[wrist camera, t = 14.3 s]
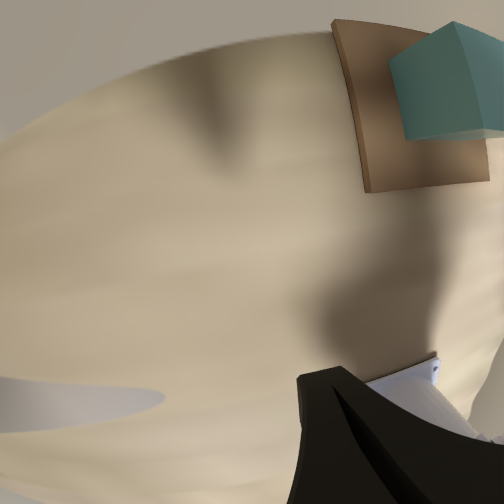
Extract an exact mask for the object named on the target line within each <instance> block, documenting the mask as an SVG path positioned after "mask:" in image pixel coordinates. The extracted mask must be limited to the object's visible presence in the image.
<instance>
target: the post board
mask: <svg viewBox="0 0 504 504" xmlns="http://www.w3.org/2000/svg"><path fill="white" fill-rule="evenodd" d="M331 28H332V31H333V34H334V38H335V41H336V45H337V48H338V52H339V56H340V59H341V63H342V67H343V71H344V75H345V79H346V84H347V88H348V92H349V97H350V101H351V106H352V111H353V116H354V121H355V127H356V132H357V138H358V144H359V150H360V156H361V163H362V170H363V177H364V185H365V193H378V192H386V191H395V190H403V189H412V188H421V187H430V186H440V185H450V184H460V183H471V182H483V181H490V177H489V166H488V157H487V149H486V142H485V139H475V140H464V141H455V140H405V134H404V128H403V123H402V117H401V112H400V108H399V103H398V98H397V94H396V90H395V86H394V82H393V78H392V74H391V70H390V67H389V63H388V60H390V59H392V58H393V57H395V56H396V55H398V54H399V53H401V52H402V51H404V50H405V49H407V48H409V47H410V46H412V45H413V44H415V43H417V42H418V41H420V40H422V39H423V38H425V37H426V36H428V35H430V34H429V33H424V32H421V31H416V30H411V29H406V28H401V27H396V26H390V25H383V24H378V23H370V22H362V21H353V20H340V19H334V21H333V22H332V23H331Z"/></svg>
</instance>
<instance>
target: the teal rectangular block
mask: <svg viewBox="0 0 504 504" xmlns="http://www.w3.org/2000/svg"><path fill="white" fill-rule="evenodd" d="M388 63H389V67H390V70H391V74H392V78H393V82H394V86H395V90H396V94H397V98H398V103H399V108H400V112H401V117H402V123H403V128H404V134H405V140H455V141H464V140H475V139H488V138H503V137H504V42H503V41H500V40H498V39H496V38H494V37H492V36H489V35H487V34H485V33H483V32H480V31H478V30H475V29H473V28H470V27H468V26H465V25H463V24H460V23H457V22H454V21H452V22H450V23H449V24H447V25H445V26H443V27H442V28H440V29H438V30H436V31H435V32H433V33H431V34H430V35H428V36H426V37H425V38H423V39H422V40H420V41H418V42H417V43H415V44H413V45H412V46H410V47H409V48H407V49H405V50H404V51H402V52H401V53H399V54H398V55H396V56H395V57H393V58H392V59H390V60H388Z"/></svg>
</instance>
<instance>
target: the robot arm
mask: <svg viewBox="0 0 504 504" xmlns="http://www.w3.org/2000/svg"><path fill="white" fill-rule="evenodd" d="M439 367H440V359H439V358H438V357H434V358H432V359H430V360H427V361H425V362H423V363H420V364H418V365H415V366H413V367H410V368H407V369H405V370H402V371H399V372H397V373H394V374H391V375H388V376H386V377H383V378H380V379H377V380H374V381H371V382H368V383H363V382H362V381H361V380H359V379H358V378H357V377H355V376H354V375H353V374H351V373H350V372H349V371H347V370H346V369H345V368H343V367H342V366H337V367H333V368H329V369H324V370H320V371H316V372H311V373H307V374H302V375H300V376H299V377H298V378H297V391H298V403H299V416H300V423H301V427H302V432H301V441H300V449H299V456H298V461H297V466H296V471H295V475H294V480H293V484H292V488H291V491H290V494H289V498H288V501H287V504H504V434H495V435H494V436H493V437H492V438H491V439H490V441H489V440H488V439H487V438H486V437H485V436H484V435H483V434H482V433H481V434H478V433H477V432H476V431H475V430H474V429H473V427H472V426H471V425H470V424H469V423H468V422H467V421H466V420H465V419H464V417H463V416H462V415H461V414H460V413H459V412H458V411H457V410H456V409H455V408H454V407H453V405H452V404H451V403H450V402H449V401H448V400H447V399H446V398H445V397H444V396H443V395H442V394H441V392H440V391H439V390H438V389H437V388H436V387H435V385H436V381H437V376H438V371H439Z"/></svg>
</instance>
